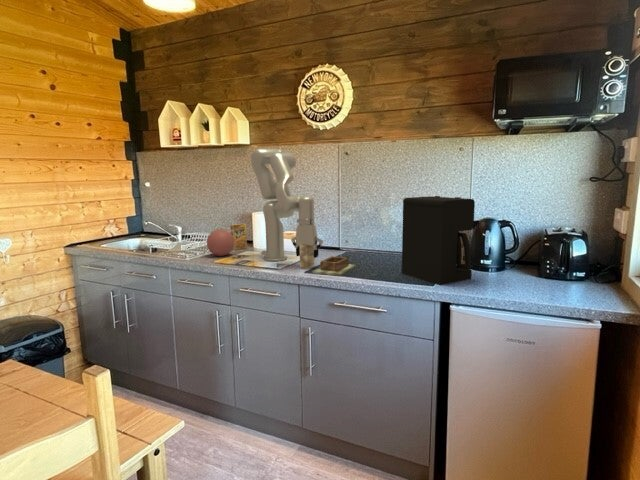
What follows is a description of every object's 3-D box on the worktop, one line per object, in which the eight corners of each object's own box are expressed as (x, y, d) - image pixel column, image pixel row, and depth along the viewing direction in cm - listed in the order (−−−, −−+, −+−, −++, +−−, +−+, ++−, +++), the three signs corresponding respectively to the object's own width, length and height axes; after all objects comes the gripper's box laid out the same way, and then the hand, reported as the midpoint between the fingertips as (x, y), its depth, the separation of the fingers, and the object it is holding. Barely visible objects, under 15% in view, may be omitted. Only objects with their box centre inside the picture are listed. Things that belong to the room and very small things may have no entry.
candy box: (234, 249, 254) (232, 225, 252) (231, 248, 258) (230, 224, 255) (247, 248, 259) (246, 223, 257) (244, 247, 263) (243, 223, 260)
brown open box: (312, 273, 194) (312, 262, 193) (330, 264, 211) (330, 254, 211) (339, 276, 188) (339, 265, 187) (356, 266, 205) (356, 256, 204)
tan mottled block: (299, 268, 203) (299, 244, 201) (307, 265, 210) (307, 241, 208) (307, 269, 202) (306, 244, 200) (314, 265, 209) (314, 242, 207)
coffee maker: (480, 280, 176) (484, 198, 171) (447, 287, 167) (450, 200, 161) (432, 268, 201) (434, 195, 195) (401, 273, 191) (402, 197, 185)
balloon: (243, 252, 246) (242, 226, 243) (226, 259, 227) (224, 231, 225) (221, 251, 251) (219, 226, 248) (202, 257, 232) (200, 230, 230)
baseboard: (163, 254, 247) (183, 253, 248) (162, 249, 247) (183, 248, 248) (175, 245, 278) (194, 244, 279) (175, 240, 277) (193, 240, 278)
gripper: (287, 222, 203) (288, 256, 206) (318, 223, 195) (319, 259, 198) (294, 220, 209) (295, 253, 212) (325, 222, 202) (326, 256, 205)
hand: (307, 256), depth 205 cm, fingers open, 9 cm apart
